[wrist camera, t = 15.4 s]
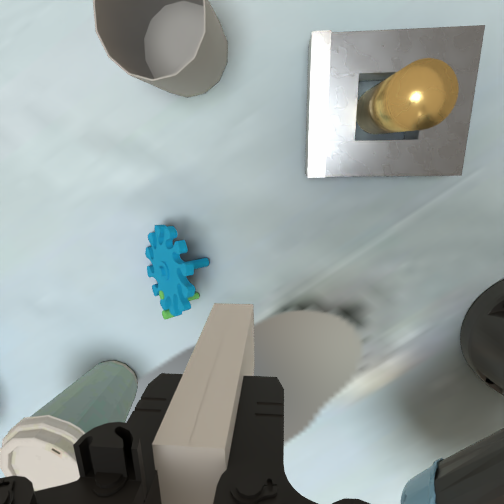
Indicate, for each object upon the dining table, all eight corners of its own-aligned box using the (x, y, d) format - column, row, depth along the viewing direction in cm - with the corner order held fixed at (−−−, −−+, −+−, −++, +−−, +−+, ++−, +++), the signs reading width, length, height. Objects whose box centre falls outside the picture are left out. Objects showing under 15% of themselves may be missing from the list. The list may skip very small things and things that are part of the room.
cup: (237, 15, 33) (218, -36, 24) (218, 105, 36) (194, 92, 26) (152, -8, 33) (99, -68, 24) (139, 84, 36) (87, 63, 26)
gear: (141, 211, 38) (186, 251, 32) (189, 206, 42) (238, 241, 35) (139, 294, 43) (177, 344, 37) (182, 284, 47) (224, 327, 40)
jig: (461, 39, 32) (489, 22, 28) (442, 172, 36) (464, 175, 31) (308, 45, 34) (311, 31, 29) (305, 173, 37) (307, 177, 33)
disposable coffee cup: (131, 423, 49) (69, 536, 35) (64, 385, 48) (-28, 486, 34) (165, 371, 46) (112, 473, 32) (94, 329, 45) (6, 415, 31)
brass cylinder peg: (403, 85, 34) (463, 56, 22) (398, 133, 35) (453, 129, 24) (356, 87, 34) (392, 59, 23) (353, 134, 36) (386, 130, 24)
